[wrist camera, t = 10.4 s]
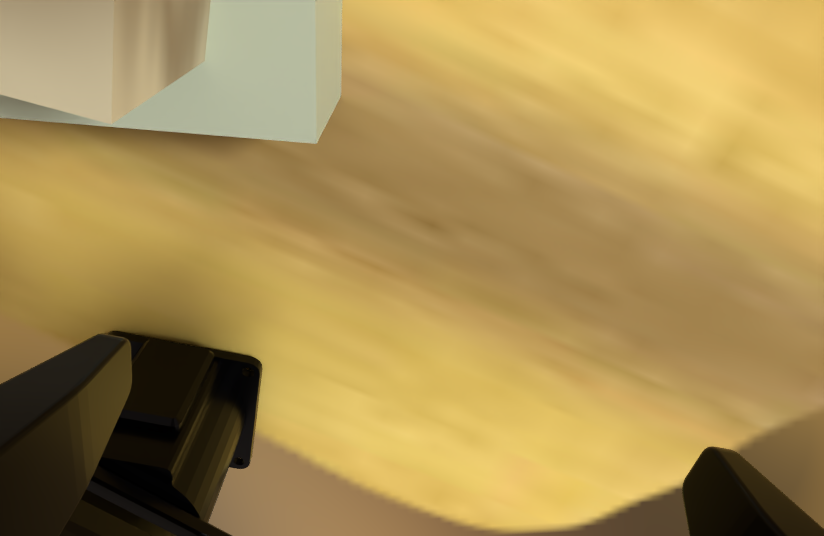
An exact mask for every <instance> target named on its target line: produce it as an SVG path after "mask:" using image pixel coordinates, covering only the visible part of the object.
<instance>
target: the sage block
mask: <svg viewBox="0 0 824 536" xmlns="http://www.w3.org/2000/svg"><path fill="white" fill-rule="evenodd" d="M341 61H342V0H211V2H210V12H209V23H208V33H207V43H206V53H205V61H204V62H203V63H201V64H200V65H198V66H197V67H195V68H194V69H192V70H191V71H189V72H188V73H186V74H185V75H183V76H182V77H180V78H179V79H178V80H176V81H175V82H173V83H172V84H170V85H169V86H167V87H166V88H164V89H163V90H161V91H160V92H158V93H157V94H155V95H154V96H152V97H151V98H150V99H148V100H147V101H145V102H144V103H142V104H141V105H139V106H138V107H136V108H135V109H133V110H132V111H130V112H129V113H127V114H126V115H124V116H123V117H121V118H120V119H119V120H117V121H116V122H114V123H113V124H108V123H104V122H100V121H97V120H93V119H89V118H86V117H82V116H78V115H75V114H71V113H67V112H63V111H60V110H56V109H52V108H49V107H45V106H41V105H37V104H34V103H30V102H26V101H23V100H19V99H15V98H11V97H8V96H4V95H0V118H10V119H22V120H34V121H46V122H58V123H71V124H83V125H95V126H107V127H119V128H132V129H144V130H156V131H168V132H180V133H193V134H205V135H217V136H229V137H241V138H254V139H266V140H278V141H290V142H303V143H315V144H317V142H318V140H319V138H320V136H321V134H322V132H323V130H324V128H325V126H326V124H327V122H328V120H329V118H330V116H331V114H332V112H333V111H334V109H335V107H336V105H337V103H338V101H339V99H340V97H341Z"/></svg>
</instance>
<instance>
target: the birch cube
mask: <svg viewBox="0 0 824 536" xmlns="http://www.w3.org/2000/svg"><path fill="white" fill-rule="evenodd" d="M210 2H211V0H0V95H4V96H8V97H11V98H15V99H19V100H23V101H26V102H30V103H34V104H37V105H41V106H45V107H49V108H52V109H56V110H60V111H63V112H67V113H71V114H75V115H78V116H82V117H86V118H89V119H93V120H97V121H100V122H104V123H108V124H113V123H114V122H116V121H117V120H119V119H120V118H121V117H123V116H124V115H126V114H127V113H129V112H130V111H132V110H133V109H135V108H136V107H138V106H139V105H141V104H142V103H144V102H145V101H147V100H148V99H150V98H151V97H152V96H154V95H155V94H157V93H158V92H160V91H161V90H163V89H164V88H166V87H167V86H169V85H170V84H172V83H173V82H175V81H176V80H178V79H179V78H180V77H182V76H183V75H185V74H186V73H188V72H189V71H191V70H192V69H194V68H195V67H197V66H198V65H200V64H201V63H203V62H204V61H205V53H206V43H207V33H208V23H209V12H210Z"/></svg>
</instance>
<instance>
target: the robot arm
mask: <svg viewBox="0 0 824 536" xmlns="http://www.w3.org/2000/svg"><path fill="white" fill-rule="evenodd" d="M246 368H251V369H252V370H253V371H250V370H247V369H246ZM261 376H262V364H261V363H260V361H259V360H257V359H256V358H253V357H249V356H244V355H239V354H233V353H228V352H223V351H218V350H212V349H207V348H202V347H197V346H191V345H186V344H181V343H176V342H170V341H165V340H160V339H155V338H149V337H144V336H139V335H134V334H128V333H123V332H118V331H113V332H110V333H108V334H98V335H96V336H93V337H92V338H90V339H88V340H86V341H84V342H82V343H80V344H78V345H76V346H74V347H72V348H70V349H68V350H66V351H64V352H62V353H60V354H59V355H57V356H54V357H53V358H51V359H49V360H47V361H45V362H43V363H41V364H39V365H37V366H35V367H33V368H31V369H30V370H27V371H25V372H23V373H21V374H19V375H17V376H15V377H14V378H12V379H10V380H8V381H6V382H4V383H2V384H0V536H232V535H230V534H228V533H226V532H224V531H222V530H220V529H219V528H217V527H215V526H213V525H211V524H209V523H208V522H209V519H210V516H211V514H212V511H213V508H214V506H215V503H216V500H217V498H218V495H219V492H220V490H221V487H222V484H223V482H224V479H225V476H226V473H227V471H228V468H229V467H232V468H237V469H244V468H246V467H248V466H249V464H250V461H251V458H252V452H253V443H254V435H255V426H256V418H257V409H258V401H259V392H260V384H261ZM682 494H683V501H684V507H685V513H686V518H687V524H688V530H689V535H690V536H824V529H823V528H822V527H821V526H820V525H819V524H818V523H816V522H815V521H814V520H813V519H812V518H811V517H810V516H809V515H807V514H806V513H805V512H804V511H803V510H802V509H800V508H799V507H798V506H797V505H796V504H795V503H794V502H793V501H792V500H790V499H789V498H788V497H787V496H786V495H785V494H784V493H783V492H781V491H780V490H779V489H778V488H777V487H776V486H775V485H773V484H772V483H771V482H770V481H769V480H768V479H767V478H766V477H764V476H763V475H762V474H761V473H760V472H759V471H758V470H757V469H755V468H754V467H753V466H752V465H751V464H750V463H749V462H748V461H746V460H745V459H744V458H743V457H742V456H741V455H740V454H738V453H737V452H735V451H733V450H729V449H724V448H719V447H708V448H706V449H705V450H704V451H703V452H702V453H701V455H700V456H699V458H698V459H697V461H696V462H695V464H694V465H693V467H692V469H691V470H690V472H689V473H688V475H687V476H686V478H685V480H684V483H683V488H682Z"/></svg>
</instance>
